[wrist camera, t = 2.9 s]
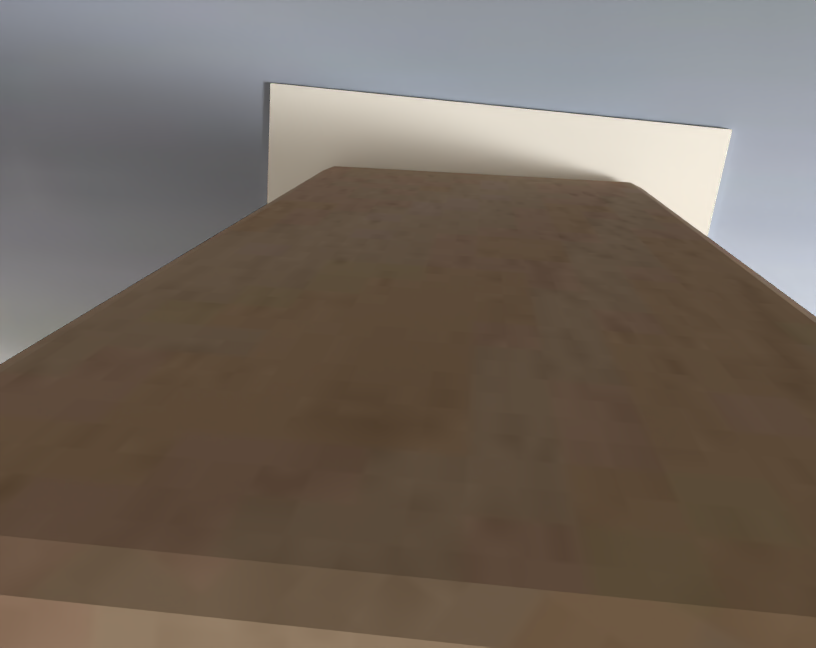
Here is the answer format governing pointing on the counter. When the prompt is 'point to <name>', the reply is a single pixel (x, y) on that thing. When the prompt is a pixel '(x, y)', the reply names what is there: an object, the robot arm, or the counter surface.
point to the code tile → (490, 144)
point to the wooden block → (420, 433)
